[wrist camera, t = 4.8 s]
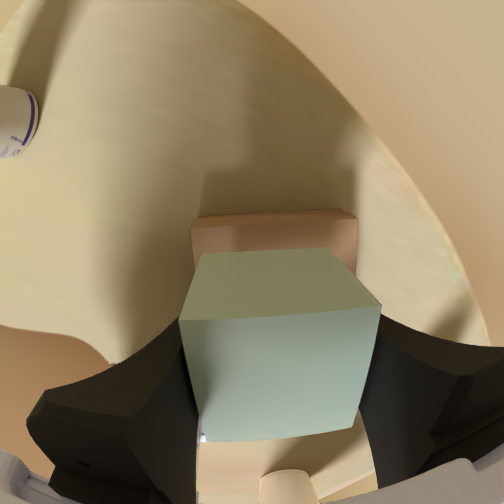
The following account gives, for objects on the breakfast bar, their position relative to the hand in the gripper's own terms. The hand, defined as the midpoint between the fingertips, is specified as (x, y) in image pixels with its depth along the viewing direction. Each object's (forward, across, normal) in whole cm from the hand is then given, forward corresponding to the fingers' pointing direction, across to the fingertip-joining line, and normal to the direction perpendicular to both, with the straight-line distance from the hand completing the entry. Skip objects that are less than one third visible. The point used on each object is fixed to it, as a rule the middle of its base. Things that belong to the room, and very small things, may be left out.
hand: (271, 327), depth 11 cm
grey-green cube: (+2, 0, 0) cm, 2 cm away
